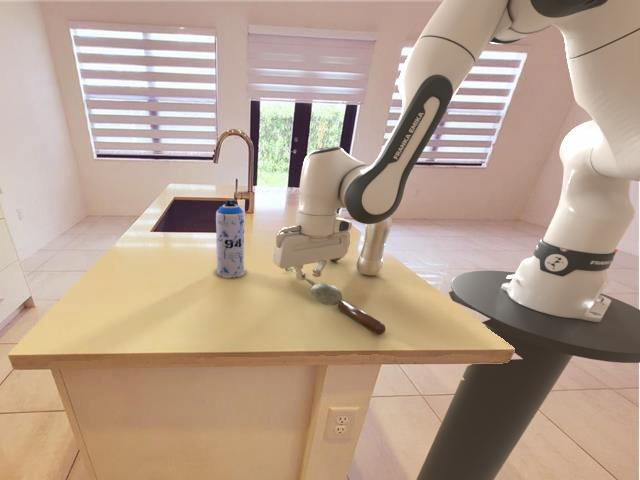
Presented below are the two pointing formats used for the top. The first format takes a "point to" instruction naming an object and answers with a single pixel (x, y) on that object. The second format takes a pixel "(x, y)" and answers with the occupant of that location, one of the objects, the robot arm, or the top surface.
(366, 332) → the top surface
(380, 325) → the walnut dowel
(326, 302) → the soupspoon
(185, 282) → the top surface
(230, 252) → the aerosol can
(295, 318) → the top surface
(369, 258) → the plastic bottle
